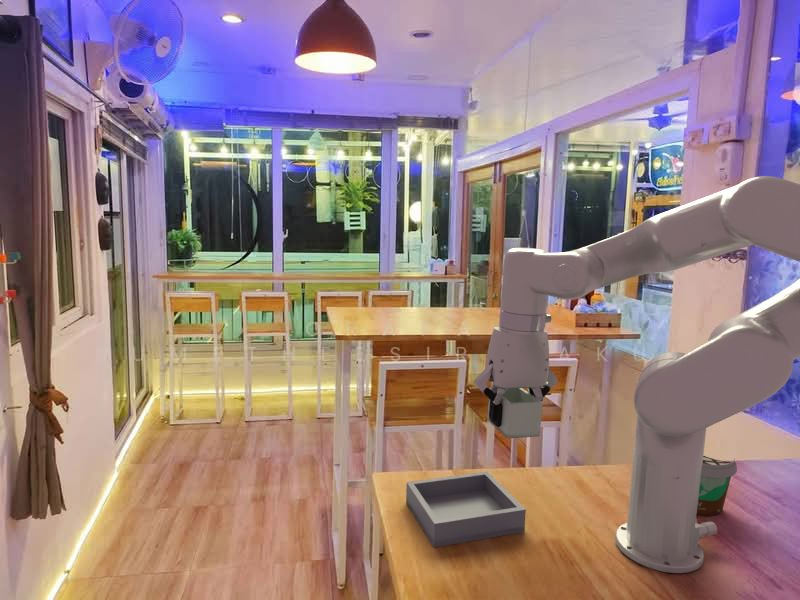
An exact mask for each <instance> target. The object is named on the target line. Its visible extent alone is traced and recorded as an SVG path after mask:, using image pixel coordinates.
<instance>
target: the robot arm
mask: <svg viewBox="0 0 800 600" xmlns="http://www.w3.org/2000/svg"><path fill="white" fill-rule="evenodd" d="M750 246H755V247H758V248H759V249H763V250H766V251H769V252H771V253H774V254H776V255H780V256H782V257H784V258H788V259H791V260H794V261H796V262H799V263H800V183H797V182H794V181H790V180H787V179H784V178H781V177H778V176H777V177H776V176H771V175H760V176H754V177H750V178H748V179H746V180H743V181H742V182H740V183H739V184H736V185H734V186H732V187H729V188H726V189H723V190H721V191H718V192H715V193H713V194H711V195H707V196H704V197H702V198H699V199H696V200H694V201H691V202H688V203H686V204H683V205H679V206H678V207H675V208H672V209H669V210H667V211H664V212H661V213H659V214H655V215H654V216H651V217H650V218H649V217H648V218H647V219H645V220H644V221H642V222H641V223H639V224H638V225H636V226H634V227H632V228H631V229H628V230H626V231H624V232H621V233H619V234H616V235H613V236H611V237H609V238H606V239H603V240H600V241H597V242H594V243H592V244H589V245H586V246H583V247H580V248H577V249H571V250H569V251H565V252H564V251H563V252H548V251H547V250H545V249H540V248H532V247H512V248H510V249H508V250H507V251H506V252H505V255H504V259H503V260H504V261H503V270H502V271H503V273H502V285H501V296H500V297H501V299H500V309H499V320H498V326H494V327H493V330H492V333H491V337H490V341H489V345H488V348H487V355H486V360H485V366H484V367H485V368H484V370H483V371H482V372H481V373H480V374H479V375H478V376H477V377H476V378H475V379H474V380H473V384H474V385H475V386H476V387H477V388H478V389H479V390H480V391H481V392H482V393H483V394H484V395H485V397H487V399H488V401H489V400H490V406H489V405H488V406H489V419H490V421H491V422H492V423H493V424H494V425H496V426H497V427H500V426H501V423H502V411H503V405H502V404H501V403H500V402H501V399H502V397H503V395H504V393H505V391H506V389H515V388H523V389H527V392H528V393H530V394H531V395H533V396H534V397H535V398H537V399H538V400H540V401H541V402H543V401H544V398H545V397H546V395H548V394H549V392H550V390H551V389H552V388H553V387H555V386H556V384H558V382H559V378H558V377H557V376H556V375H555V373H554V372H553V370H552V369H550V347H549V346H550V345H549V336H548V331H547V330H546V329H545V328H546V324H547V323H551V322H552V319H553V318H552V315H551V314H547V307H548V306H547V305H548V303H547V302H548V297H553V298H556V299H561V300H565V301H572V300H573V301H574V300H579V299H581V298H583V297H584V296H586V295H588V294H590V293H591V292H593V291H596V290H598V289H601V288H604V287H607V286H611V285H614V284H617V283H619V282H623V281H626V280H629V279H632V278H636V277H639V276H643V275H647V274H653V273H667V272H671V271H676V270H679V269H683V268H685V267H688V266H691V265H695V264H698V263H701V262H704V261H707V260H710V259H713V258H716V257H719V256H722V255H726V254H729V253H733V252H735V251H738V250H741V249H745V248H747V247H750ZM799 358H800V278H799V279H797V280H796V281H794V283H791V285H788V286H787V287H785V288H784V289H782V290H780V291H778V292H777V293H775V294H773V296H771V297H769V298H767V299H766V300H763V301H761V302H760V303H757V304H756V305H754V306H752V307H751V308H749V309H747V310H745V311H743V312H741V313H740V314H737V315H735V316H733V317H731V318H728V319H727V320H725V321H722V322H721V323H719V325H717V326H716V327H715V328H714V329H713V331H712V332H711V333H710V335H709V338H708V340H707V341H706V342H705V343H702V344H701V345H699V346H697V347H695V348H694V349H692V350H690V351H687V352H686V353H685V352H681V351H668V352H667V351H666V352H663V353H660V354H657V355H656V356H654V357H653V358H651V359H650V360H649V361H648V362H647V363H646V364H645V366H644V367H643V369H642V371H641V374H640V375H639V378H638V381H637V383H636V386H635V389H634V394H633V405H634V411H635V413H636V415H637V418H636V428H635V435H634V446H633V447H634V448H633V456H632V464H631V465H632V466H631V478H630V489H629V500H628V509H627V510H628V513H627V521H626V522H625V523H622V524H621V525H620V526H618V527H617V529H616V530H615V539H614V540H615V543H616V546H617V547H618V548H619V550H620V551H621V552H622V553H623V554H624V555H625V556H627V558H629V559H631V560H632V561H633V562H635V563H637V564H639V565H641V566H643V567H647V568H649V569H653V570H655V571H657V572H658V571H659V572H663V573H671V574H685V573H686V574H687V573H691V572H695V571H696V570H698V569H699V568H701V567H702V565H703V563H704V558H705V557H704V551H703V548H702V546H701V545H700V544H699V540H701V539H702V538H703V536H705V537H707V536H712V535H716V534H717V533H718V527H717V525H716V524H715V523H714V522H713V521H712V520H711V521H704V522H701V523H698V519H697V516H696V514H697V505H698V496H699V487H700V478H701V469H702V463H703V456H704V452H705V445H706V443H705V442H706V436H707V428H709V427H711V426H713V425H716V424H717V423H720V422H722V421H724V420H726V419H729V418H730V417H733V416H734V415H737V414H739V413H741V412H743V411H745V410H747V409H749V408H752V407H754V406H755V405H757V404H760V403H762V402H763V401H765V400H768V399H769V398H771V397H772V396H774V395H775V394H776V393H778V391H780V390H781V389H782V388H783V387H784V386H785V385H786V383H787V382H788V381H789V379H790V377H791V375H792V373H793V369H794V361H795V360H797V359H799ZM487 382H490V383H492V384H491V386H490V387H489V386H488V385H487ZM490 388H491V389H490Z"/></svg>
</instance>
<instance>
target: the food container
mask: <svg viewBox="0 0 800 600" xmlns="http://www.w3.org/2000/svg"><path fill="white" fill-rule="evenodd" d="M735 460H736V458H733V461H725V460H720V459H714V458H712V457H710V456H709V457H708V456H706V455H703V463H702V469H701V478H700V487H699V496H698V505H697V514H696V517H700V516H702V517H701V518H712V517H711V516H714V517H717V515H718V516H720V515H721V514H722V513H723V510H724V506H725V503H726V498H727V494H728V491H729V487H730V482H731V478H732V477H733V476H735V475H736V474H737V473H738V468H737V467H738V466H737V461H735ZM719 514H720V515H719ZM703 516H704V517H703Z"/></svg>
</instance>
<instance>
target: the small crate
mask: <svg viewBox="0 0 800 600" xmlns="http://www.w3.org/2000/svg"><path fill="white" fill-rule="evenodd" d="M489 389H491V387H489ZM500 403H501V404H502V405H503V411H502V423H501V426H500V427H497V426H496V425H494V424H493V423H492V422H491V421H490V419H489V406H490V400H489V399H488V407H487V408H488V409H487V420H486V421H487V422H488V423H489V424H491V425H492V426H493V427H494V428H495V429H496V430H497V431H498V432H500V434H501V435H502V436H503V437H505V438H506V439H522V438H532V437H533V438H535V437H540V435H541V434H540V433H541V424H542V413H543V412H542V411H543V404H544V403H543V401H542V402H541V401H540V400H538V399H537V398H535V397H534V396H533V395H531V394H530V393H529V392H528V390H526V389H525V388H515V389H506V391H505V393H504V395H503V397H502V399H501V402H500Z"/></svg>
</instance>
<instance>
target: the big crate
mask: <svg viewBox="0 0 800 600" xmlns="http://www.w3.org/2000/svg"><path fill="white" fill-rule="evenodd" d="M405 490H406V491H405V492H406V494H405V496H406V497H405V499H406V500H405V503H406V505H407V507H408V508H409V510H410V511H411V514H412V515H413V516H414V518H415V519H416V521H417V522H418V524H419V527H421V529H422V532H424V534H425V536H426V537H427V539H428V541H429V542H430V544H431V545H432V547H433V548H437V547H445V546H452V545H456V544H462V543H467V542H468V543H469V542H474V541H480V540H485V539H491V538H492V539H493V538H498V537H503V535H504V536H508V535H515V534H520V533H525V531H526V529H525V528H526V527H525V526H526V512H527V511H526V508H525V507H524V506H523V505H522V504H521V503H520V502H519V501H518V500H517V499H516V498H515V497H514V496H513V495H512V494H511V493H510V492H509V491H508V490H507V489H506V488H505V487H504V486H503V485H502V484H501V483H500V482H499V481H498V480H497V479H496V478H495V477H494V476H493V475H492V474H491V473H490V471H483V472H474V473H466V474H458V475H451V476H443V477H434V478H430V479H429V478H427V479H421V480H420V479H419V480H414V481H413V480H412V481H406V489H405Z"/></svg>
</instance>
